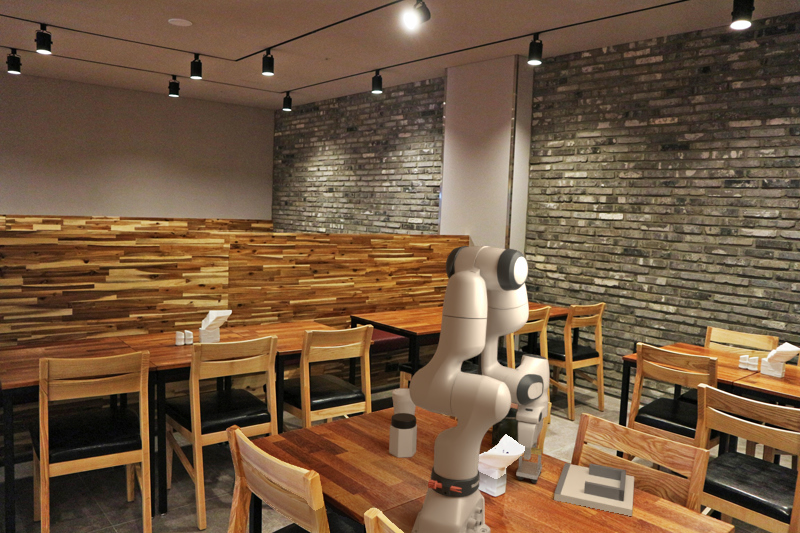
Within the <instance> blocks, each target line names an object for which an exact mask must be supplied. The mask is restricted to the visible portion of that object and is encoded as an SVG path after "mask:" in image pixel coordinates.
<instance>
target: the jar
mask: <svg viewBox="0 0 800 533" xmlns="http://www.w3.org/2000/svg"><path fill="white" fill-rule="evenodd" d="M390 419H391V420H390V421H391V423H390V425H389V441H388V442H389V443H388V444H389V446H388V447H389V448H388V450H389V451H388V453H389V454H390V455H392V456H395V457H396V458H398V459H399V458H412V457H413V456H414V455H415V454H416V453H417V441H418V440H417V435H418V424H417V417H416V416H415V414H414V415H412V414H408V413H398V414H394V413H393V414H392V415H391V418H390Z"/></svg>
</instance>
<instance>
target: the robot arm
mask: <svg viewBox="0 0 800 533" xmlns="http://www.w3.org/2000/svg"><path fill="white" fill-rule="evenodd" d="M445 261H446V262H445V272H446V276H447V278H448V279H447V280H448V282H447V284H446V287H445V292H444V297H443V304H442V313H441V314H442V315H441V325H440V333H439V341H438V345H437V348H436V351H435V353H434V355H433V357H432V358H431V359H430V361H429V362H428V363H427V364H426V365H424V366H423V367H421V368H419V369H418V370H417V371H416V372H415V373H414V375H412V378H411V380H410V383H409V388H408V389H409V392H410V397H411V400H412V402H413V403H414V405H416V407H418V408H420V409H422V410H424V411H425V410H426V411H427V412H430V413H433V414H439V415H445V416H450V417H454V418H457V424H456V426H451V427H449V428H447V429H444V430H443V431H441V432H439V434H438V435H437V436H436V437H435V440H434V446H433V447H434V450H433V451H434V453H433V454H434V455H433V466H432V468H431V472H430V478H429V480H428V483H427V491H426V494H425V498H424V501H423V504H422V506H421V510H420V511H419V512H417V515H416V519H415V522H414V525H413V527H412V530H411V532H410V533H491V528H490V527H489V526H488V525H487V524H486V522H485V521H486V520H485V518H486V516H485V513H486V512H485V511H486V510H485V507H486V506H485V497H484V495H483V494H482V493H481V491H480V489H479V487H480V482H481V476H480V470H479V461H480V460H479V459H480V451H481V446H482V441H483V439H484V437H485V435H486V434H487V432H488V430H489V429H491V427H492V426H493V425H494V424H496V423H498V422H500V421H501V420H502V419H503V418H504V417H505V416H506V415H507V414H508V412H509V410H510V408H511V405H512V404H515V405H517V408H516V409H517V414H516V420H518V443H519V444H521V445H523V446H525V451H524V452H523V459H524V460H526V461H529V460H530V459H531V458H532V454H531V448H532V447H534V448H537V444H538V438H539V436H540V433H541V431H542V430H543V427H544V418H547V416H548V414H549V396H548V394H549V393H548V392H549V388H550V363H549V360H548V359H547V358H546V357H544V356H541V355H537V354H531V353H524V354H523V355H522V357H521V360H520V365H519V366H518V367H516V368H513V367H509V366H503V365H502V364H500V362H499V361H498V343H499V342H498V341H499V338H500V337H502V336H508V335H511V334H513V333H515V332H517V331H519V330H520V329H522V328H523V327H524V326H525V325H526V323H527V322H528V319H529V316H530V315H529V313H530V308H529V307H530V306H529V300H528V298H529V297H528V293H527V286H526V281H527V280H528V279H527V278H528V275H529V262H528V260H527V258H526V256H525V254H523V253H522V251H519V250H517V249H515V248H510V247H509V248H501V247H495V246H488V245H475V246H468V245H462V246H457V247H455V248H453V249H452V250H451V252H450V253H449V254H448V256H447V258H446V260H445ZM477 356H478V362H477V364H478V366H477V372H476V373H469V372H463V371H462V369H461V368H462V365H463V362H464V361H467V360H470V359H472V358H474V357H477Z"/></svg>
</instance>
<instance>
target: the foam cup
mask: <svg viewBox="0 0 800 533" xmlns="http://www.w3.org/2000/svg"><path fill="white" fill-rule="evenodd" d="M391 394H392V396H391V398H392V403H393V406H392V407H393V415H394V414H398V413H408V414H412V415H414V416H415V413H416V407H417V406H416V405H414V403H413V402H412V400H411V397H410V392H409V388H404V387H403V388H402V387H401V388H396V389H393V390H392V392H391Z"/></svg>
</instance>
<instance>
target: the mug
mask: <svg viewBox="0 0 800 533" xmlns="http://www.w3.org/2000/svg"><path fill="white" fill-rule="evenodd" d="M516 414H517V408H515V407H510V410H509V412H508V414H507V415H506V416H505V417H504V418H503V419H502V420H501V421H500V422H498V423H496V424H494V425H493V426H492V428H491V429H492V430H491V445H492V447H493V448H494V446H495V445H497V444H498V443H499V441H500V439H501V438H502V437H503V436H504V435H505V434H507V435H508V436H510V437H512V438H513V439H514V440H516V441H517V442H518V420H516Z"/></svg>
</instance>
